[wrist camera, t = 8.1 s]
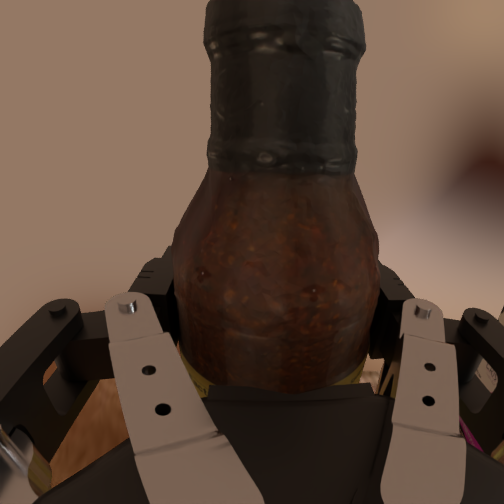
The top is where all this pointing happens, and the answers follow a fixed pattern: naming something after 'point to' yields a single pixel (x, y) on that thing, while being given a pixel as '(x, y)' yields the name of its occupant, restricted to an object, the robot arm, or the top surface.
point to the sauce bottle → (278, 205)
